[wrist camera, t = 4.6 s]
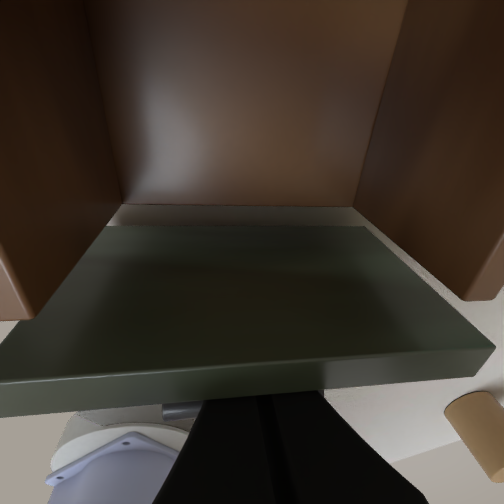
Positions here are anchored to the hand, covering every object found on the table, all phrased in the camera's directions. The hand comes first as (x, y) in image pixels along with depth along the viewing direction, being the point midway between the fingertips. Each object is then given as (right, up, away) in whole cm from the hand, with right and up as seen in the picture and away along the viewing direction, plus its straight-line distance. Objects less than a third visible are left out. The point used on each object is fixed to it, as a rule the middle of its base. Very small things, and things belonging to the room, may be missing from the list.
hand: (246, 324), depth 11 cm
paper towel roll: (+20, -11, +14) cm, 27 cm away
